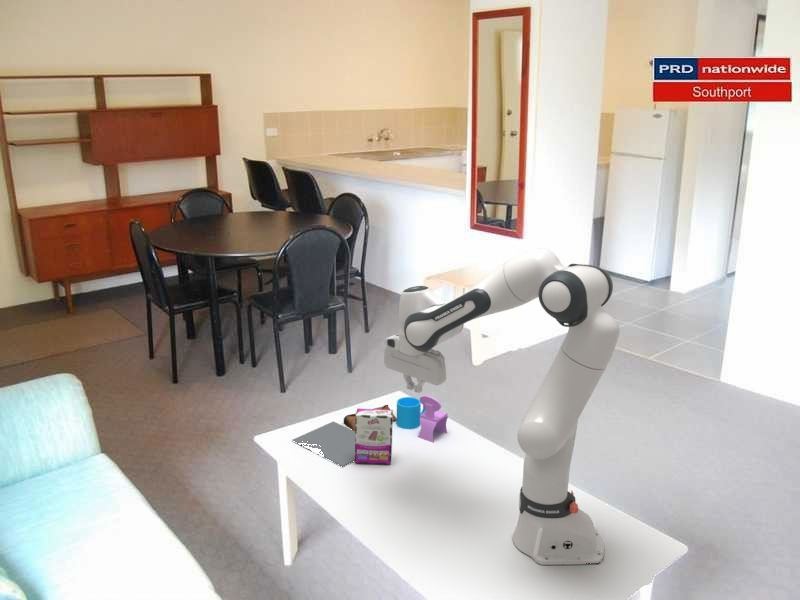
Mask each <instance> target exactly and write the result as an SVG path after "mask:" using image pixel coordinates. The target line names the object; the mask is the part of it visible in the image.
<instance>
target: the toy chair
mask: <svg viewBox="0 0 800 600" xmlns="http://www.w3.org/2000/svg"><path fill="white" fill-rule="evenodd" d="M419 400H420V402H421V405H422V406H423V405H424V406H425V413H423V414H421V417H420V430H419V433H418V435H417V438H420V439H422V440H424V441H427V442H430V443H434V442H435V439H434V430H436V431H437V432H441V433H444V434H448V429H447V420H448V417H449V416H448V413H447V412H445V411H440V410H441V407H442V403H441V401H440V400H438V399H437V398H435V397H433V396H431V395H426V394H423V395H420V397H419Z"/></svg>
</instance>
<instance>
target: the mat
mask: <svg viewBox="0 0 800 600" xmlns="http://www.w3.org/2000/svg"><path fill="white" fill-rule="evenodd" d="M292 440H293V441H295V442H297V443H307V444H311V445H312V444H317V446H316V445H314V446H313V445H312V446H311V445H309V447H312V448H318V449H321V451H322V452H323V454H324V457H325V458H327V459H329V460H331V461H333V462H335V463H337V464H339V465H340V466H339V465H338V466H339V467H341V466H342V467H341V468H344V467H346V466H348V465H350V464H352V463H354V462H355V431H353V430H351V429H350V428H349V427H347V426H344V425H342V424H340V423H337V422H335V421H331V422H329V423H327V424H324V425H322V426H320V427H317V428H315V429H313V430H311V431H309V432H307V433H305V434H302V435H300V436H298V437H295V438H293V439H292ZM302 441H303V442H302ZM307 441H308V442H307ZM307 444H306V445H304V444H303V445H304V446H308V445H307ZM301 445H302V444H301ZM319 445H320V446H321V447H320V446H319ZM321 451H320V452H321ZM320 452H319V453H320ZM320 454H321V453H320ZM323 454H322V455H323ZM325 458H324V459H325ZM327 459H326V460H327ZM329 460H328V461H329ZM331 461H330V462H331ZM353 461H354V462H353ZM333 462H332V463H333ZM351 462H352V463H351ZM335 463H334V464H335ZM349 463H350V464H349ZM337 464H336V465H337ZM347 464H348V465H347ZM345 465H346V466H345ZM343 466H344V467H343Z"/></svg>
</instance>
